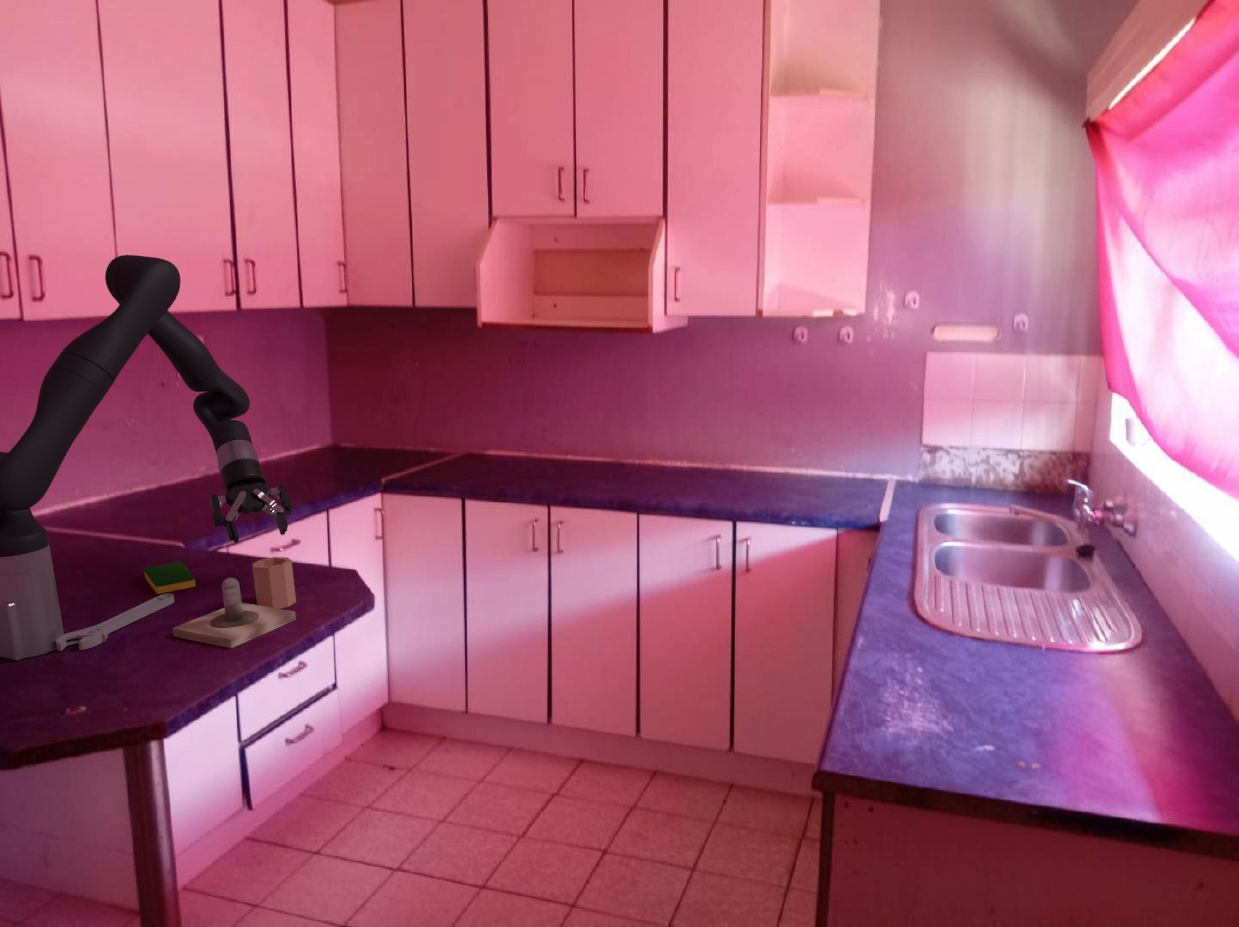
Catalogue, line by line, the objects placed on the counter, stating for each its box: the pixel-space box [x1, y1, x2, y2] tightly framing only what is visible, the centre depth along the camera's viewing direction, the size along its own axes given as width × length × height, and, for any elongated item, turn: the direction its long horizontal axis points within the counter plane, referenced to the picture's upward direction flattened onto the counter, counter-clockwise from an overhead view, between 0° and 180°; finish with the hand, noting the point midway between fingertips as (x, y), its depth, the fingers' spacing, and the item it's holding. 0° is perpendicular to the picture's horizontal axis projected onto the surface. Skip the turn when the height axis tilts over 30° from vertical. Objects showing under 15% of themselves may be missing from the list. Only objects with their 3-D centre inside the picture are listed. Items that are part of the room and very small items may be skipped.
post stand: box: [172, 577, 297, 649], centre depth 165 cm, size 14×14×9 cm
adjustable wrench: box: [56, 593, 175, 652], centre depth 169 cm, size 25×6×2 cm, turn 161°
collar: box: [251, 556, 297, 609], centre depth 177 cm, size 6×6×8 cm
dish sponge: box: [143, 561, 196, 595], centre depth 194 cm, size 7×14×2 cm, turn 35°
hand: (260, 536), depth 182 cm, fingers open, 8 cm apart
